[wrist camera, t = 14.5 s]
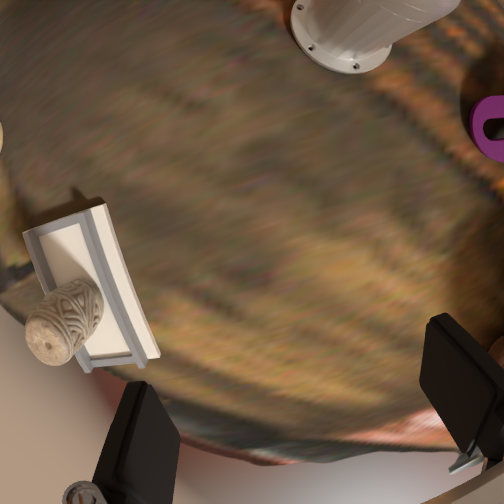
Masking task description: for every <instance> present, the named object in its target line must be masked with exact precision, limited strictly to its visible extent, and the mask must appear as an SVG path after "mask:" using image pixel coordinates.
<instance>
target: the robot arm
mask: <svg viewBox="0 0 504 504" xmlns="http://www.w3.org/2000/svg"><path fill="white" fill-rule="evenodd" d="M460 1H461V0H296V2H295V3H294V5H293V8H292V10H291V16H290V25H291V30H292V33H293V36H294V38H295V40H296V42H297V44H298V45H299V46H300V48H301V49H302V50H303V52H304V53H305V54H307V55H308V56H309V57H310V58H311V59H312V60H313V61H315V62H316V63H318V64H319V65H321V66H323V67H325V68H327V69H329V70H332V71H335V72H338V73H345V74H359V73H364V72H367V71H370V70H372V69H374V68H376V67H378V66H379V65H380V64H382V63H383V62H384V61H385V60H386V58H387V56H388V55H389V53H390V50H391V47H392V43H394V42H396V41H397V40H399V39H401V38H403V37H405V36H407V35H409V34H410V33H412V32H414V31H416V30H418V29H420V28H422V27H424V26H426V25H428V24H430V23H432V22H434V21H436V20H438V19H439V18H441V17H444V16H445V15H447V14H449V13H450V12H452V11H453V10H454V9H455V8H456V7H457V6H458V4H459V3H460ZM497 1H498V2H499V3H500V4H501V5H502V6H503V7H504V0H497ZM298 9H300V10H298ZM308 48H311V49H312V51H310V50H309V49H308ZM353 66H354V67H355V69H354V68H353ZM419 382H420V386H421V388H422V390H423V391H424V393H425V395H426V396H427V398H428V399H429V401H430V402H431V404H432V405H433V407H434V409H435V410H436V412H437V413H438V415H439V416H440V418H441V420H442V421H443V423H444V424H445V426H446V428H447V429H448V431H449V433H450V434H451V436H452V437H453V439H454V441H455V442H456V444H457V446H458V447H459V449H460V451H461V452H462V453H467V455H468V457H469V458H471V457H473V456H475V455H477V454H478V453H480V452H482V454H483V455H484V457H485V458H484V463H483V467H482V471H481V474H480V475H478V476H476V477H474V478H472V479H471V480H469V481H467V482H465V483H463V484H461V485H459V486H457V487H455V488H453V489H451V490H450V491H448V492H445V493H443V494H441V495H439V496H437V497H435V498H433V499H431V500H428V501H426V502H424V503H421V504H504V369H503V368H502V367H501V366H500V365H499V364H498V363H497V362H496V361H495V360H494V359H493V358H492V356H491V355H490V354H489V353H488V352H487V351H486V350H485V349H484V348H483V347H482V346H481V345H480V344H479V343H478V342H477V341H476V340H475V339H474V338H473V337H472V336H471V335H470V334H469V333H468V332H467V331H466V330H465V329H464V328H463V327H462V326H461V325H459V324H458V323H457V322H456V321H455V320H454V319H453V318H452V317H451V316H450V315H449V314H448V313H442V314H439V315H437V316H434V317H432V318H431V319H430V321H429V323H427V325H426V332H425V342H424V350H423V358H422V365H421V372H420V378H419ZM179 448H180V435H179V432H178V430H177V429H176V427H175V425H174V424H173V422H172V420H171V419H170V417H169V415H168V414H167V412H166V410H165V408H164V407H163V405H162V403H161V401H160V399H159V398H158V396H157V394H156V392H155V390H154V388H153V387H152V385H148V384H147V383H146V382H145V381H136V382H129V383H127V385H126V388H125V390H124V393H123V395H122V398H121V401H120V404H119V406H118V409H117V412H116V414H115V417H114V420H113V422H112V424H111V426H110V429H109V432H108V434H107V437H106V440H105V443H104V446H103V449H102V452H101V455H100V458H99V461H98V464H97V467H96V470H95V473H94V476H93V479H92V482H89V481H78V482H75V483H73V484H72V485H70V486H69V487H68V488H67V489H66V491H65V492H64V495H63V500H62V503H63V504H172V501H173V493H174V485H175V478H176V469H177V463H178V455H179Z"/></svg>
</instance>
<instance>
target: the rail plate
mask: <svg viewBox="0 0 504 504" xmlns="http://www.w3.org/2000/svg"><path fill="white" fill-rule="evenodd" d="M22 234H23V237H24V240H25V243H26V246H27V249H28V252H29V255H30V257H31V260H32V263H33V265H34V268H35V271H36V273H37V276H38V278H39V281H40V283H41V285H42V288H43V290H44V293H45V295H47V294H48V293H49V292H51V291H54V289H56V288H58V287H59V286H61V285H62V284H64V283H67V282H70V281H72V280H74V279H77V278H85V279H88V280H90V281H91V282H93V283H94V284H95V285H96V287H97V288H98V289H99V291H100V292H101V294H102V297H103V300H104V313H103V317H102V319H101V321H100V323H99V324H98V327H97V328H96V330H95V332H94V333H93V334H92V336H91V337H89V339H88V340H86V342H85V343H84V344H83V345H82V347H81V348H80V350H78V351H77V352H76V353H75V356H76V358H77V360H78V361H79V363H80V365H81V366H82V368H83V370H84V371H85V373H90V372H91V371H92V369H93V367H100V366H111V365H121V364H131V363H136V364H137V366H138V368H145V366H146V364H147V361H148V359H152V358H160V354H161V353H160V350H159V348H158V346H157V344H156V341H155V339H154V337H153V334H152V332H151V330H150V327H149V325H148V322H147V320H146V317H145V315H144V312H143V310H142V307H141V305H140V302H139V300H138V297H137V295H136V292H135V289H134V287H133V284H132V281H131V279H130V276H129V273H128V270H127V267H126V265H125V262H124V259H123V256H122V253H121V250H120V247H119V244H118V241H117V238H116V235H115V231H114V228H113V225H112V222H111V218H110V215H109V212H108V208H107V205H106V203H105V204H101V205H98V206H95V207H92V208H89V209H86V210H83V211H80V212H77V213H74V214H71V215H68V216H65V217H63V218H60V219H57V220H54V221H51V222H49V223H46V224H43V225H40V226H38V227H35V228H32V229H30V230H27V231H25V232H23V233H22Z"/></svg>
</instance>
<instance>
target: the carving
mask: <svg viewBox="0 0 504 504" xmlns="http://www.w3.org/2000/svg"><path fill="white" fill-rule="evenodd" d="M103 313H104V300H103V297H102V294H101V292H100V291H99V289H98V288H97V287H96V285H95V284H94V283H93V282H91V281H90V280H88V279H85V278H77V279H74V280H72V281H70V282H67V283H64V284H62V285H61V286H59V287H58V288H56V289H54V291H51V292H49V293H48V294H47V295H46V296H45V297H44V299H43V300H42V301H41V302H40V303H39V304H38V305H37V306H36V309H35V310H34V311H33V312H32V313H31V315H30V316H29V317H28V319H27V321H26V324H25V330H24V333H25V338H26V342H27V344H28V346H29V348H30V350H31V351H32V352H33V353H34V355H35V356H36V357H37V358H38V359H39V360H40V361H42V362H43V363H45V364H48V365H51V366H59V365H62V364H64V363H66V362H67V361H69V360H70V358H71V357H72V356H73V355H74V354H75V353H76V352H77V351H78V350H80V348H81V347H82V345H83V344H84V343H85V342H86V340H88V339H89V337H91V336H92V334H93V333H94V332H95V330H96V328H97V327H98V324H99V323H100V321H101V319H102V317H103Z"/></svg>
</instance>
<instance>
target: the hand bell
mask: <svg viewBox="0 0 504 504" xmlns="http://www.w3.org/2000/svg"><path fill="white" fill-rule="evenodd" d="M2 144H3V129H2V125H1V122H0V152H1V149H2Z"/></svg>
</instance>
